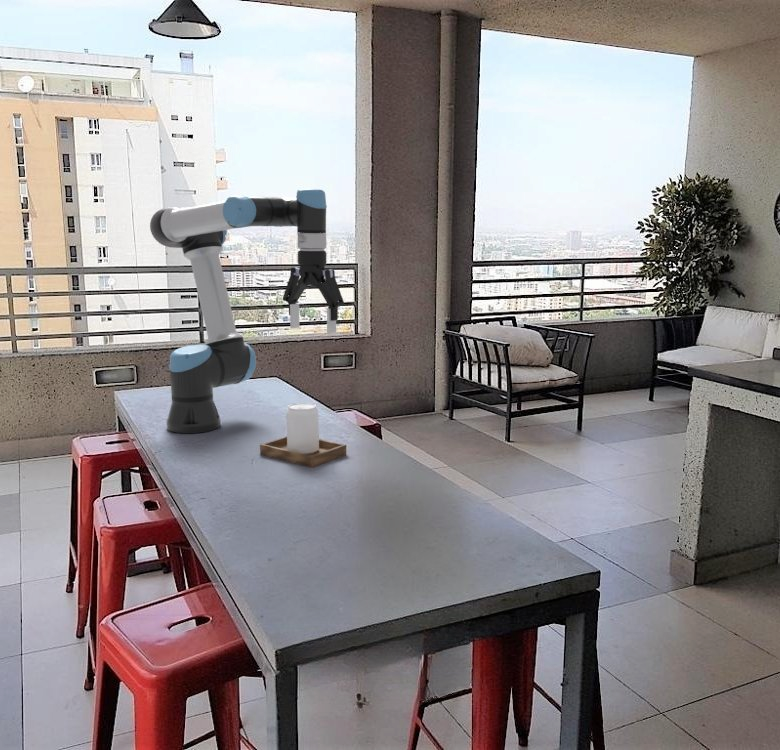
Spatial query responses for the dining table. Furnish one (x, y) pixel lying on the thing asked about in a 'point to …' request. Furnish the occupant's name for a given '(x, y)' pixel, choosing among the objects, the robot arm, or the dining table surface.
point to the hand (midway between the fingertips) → (312, 330)
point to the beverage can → (302, 428)
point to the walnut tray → (321, 456)
